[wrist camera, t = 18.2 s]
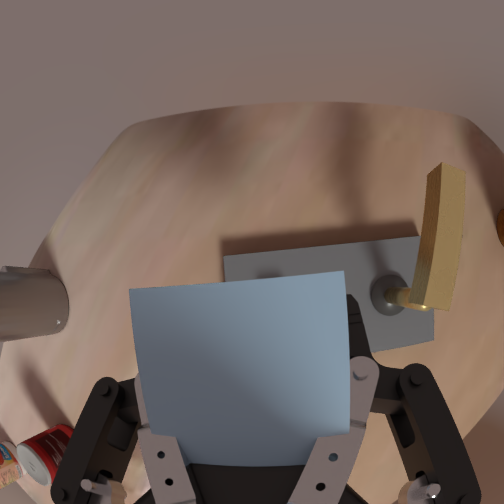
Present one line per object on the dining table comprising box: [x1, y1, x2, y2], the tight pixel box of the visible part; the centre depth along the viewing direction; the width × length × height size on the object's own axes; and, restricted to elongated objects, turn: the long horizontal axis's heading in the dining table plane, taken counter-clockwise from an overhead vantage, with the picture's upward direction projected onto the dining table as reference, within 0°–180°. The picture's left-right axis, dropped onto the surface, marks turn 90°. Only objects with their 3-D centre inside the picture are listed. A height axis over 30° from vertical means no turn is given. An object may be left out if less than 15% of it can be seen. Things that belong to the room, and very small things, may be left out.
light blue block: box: [129, 271, 350, 467], centre depth 12 cm, size 6×6×10 cm
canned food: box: [16, 424, 74, 486], centre depth 29 cm, size 8×8×11 cm
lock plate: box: [223, 236, 434, 352], centre depth 29 cm, size 23×12×4 cm, turn 95°
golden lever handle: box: [384, 162, 465, 311], centre depth 23 cm, size 11×2×11 cm, turn 166°
